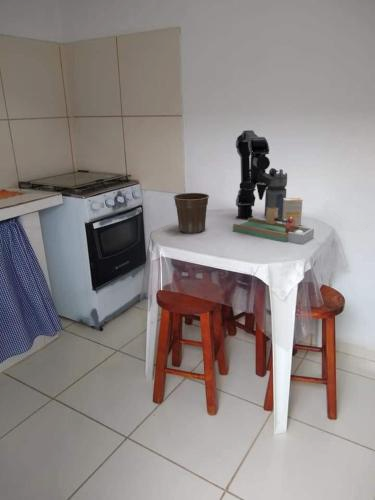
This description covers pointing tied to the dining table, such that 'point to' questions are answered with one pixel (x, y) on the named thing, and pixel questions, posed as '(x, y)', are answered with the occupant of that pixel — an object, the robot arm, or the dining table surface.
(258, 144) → the robot arm
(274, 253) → the dining table surface
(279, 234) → the pitch
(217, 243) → the dining table surface
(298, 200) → the supplement box
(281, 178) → the beverage bottle
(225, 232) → the dining table surface
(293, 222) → the foosball rod
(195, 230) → the plant pot
